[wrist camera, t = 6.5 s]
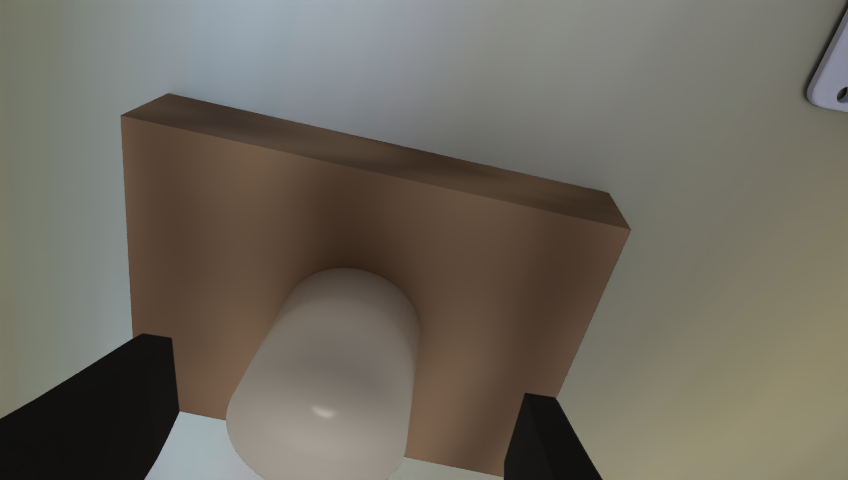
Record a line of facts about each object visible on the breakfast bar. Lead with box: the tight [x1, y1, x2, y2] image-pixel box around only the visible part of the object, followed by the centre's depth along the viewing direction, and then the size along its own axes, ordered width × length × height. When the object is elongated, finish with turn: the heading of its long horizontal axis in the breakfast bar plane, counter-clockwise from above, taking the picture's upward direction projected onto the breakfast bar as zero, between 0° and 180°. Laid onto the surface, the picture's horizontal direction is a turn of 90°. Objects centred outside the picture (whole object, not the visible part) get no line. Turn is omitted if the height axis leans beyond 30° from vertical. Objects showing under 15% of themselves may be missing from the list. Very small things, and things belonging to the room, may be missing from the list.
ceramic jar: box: [226, 268, 420, 480], centre depth 17 cm, size 5×5×5 cm
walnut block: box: [121, 93, 631, 477], centre depth 21 cm, size 16×12×4 cm
